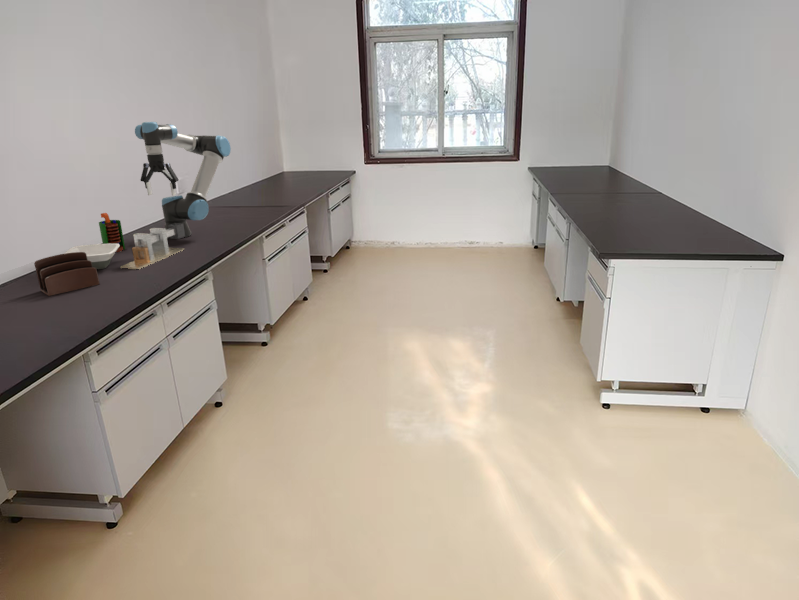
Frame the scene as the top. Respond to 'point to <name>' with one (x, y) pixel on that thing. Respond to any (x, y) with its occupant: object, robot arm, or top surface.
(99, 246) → the bowl
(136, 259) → the spacer
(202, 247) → the top surface
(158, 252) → the frame
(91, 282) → the letter holder
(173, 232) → the shaft
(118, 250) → the motor
